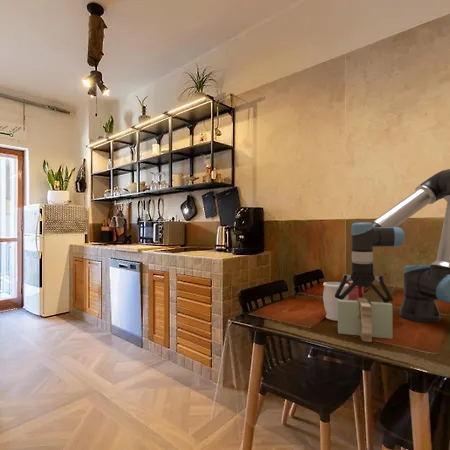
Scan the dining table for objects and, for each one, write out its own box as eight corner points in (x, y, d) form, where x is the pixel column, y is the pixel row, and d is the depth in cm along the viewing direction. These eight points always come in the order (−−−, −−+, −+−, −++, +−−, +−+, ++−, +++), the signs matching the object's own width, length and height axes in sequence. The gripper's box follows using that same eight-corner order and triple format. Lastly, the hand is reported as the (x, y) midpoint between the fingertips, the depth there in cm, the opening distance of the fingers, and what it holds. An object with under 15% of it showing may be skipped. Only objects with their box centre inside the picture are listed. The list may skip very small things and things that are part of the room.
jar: (328, 313, 138) (328, 280, 138) (351, 317, 131) (351, 283, 132) (319, 318, 130) (319, 284, 130) (343, 323, 123) (343, 287, 123)
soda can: (365, 311, 142) (365, 283, 142) (349, 310, 143) (349, 282, 143) (361, 307, 148) (361, 280, 149) (346, 306, 150) (346, 280, 150)
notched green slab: (390, 335, 109) (390, 302, 110) (392, 338, 107) (392, 305, 107) (337, 330, 115) (337, 299, 115) (338, 333, 112) (338, 301, 112)
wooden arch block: (371, 342, 104) (371, 307, 104) (362, 341, 105) (362, 306, 105) (365, 328, 117) (365, 298, 117) (357, 328, 118) (357, 297, 118)
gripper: (396, 262, 115) (397, 317, 115) (327, 260, 123) (328, 312, 123) (401, 264, 108) (402, 323, 108) (328, 262, 116) (329, 317, 116)
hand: (363, 317), depth 116 cm, fingers open, 13 cm apart
